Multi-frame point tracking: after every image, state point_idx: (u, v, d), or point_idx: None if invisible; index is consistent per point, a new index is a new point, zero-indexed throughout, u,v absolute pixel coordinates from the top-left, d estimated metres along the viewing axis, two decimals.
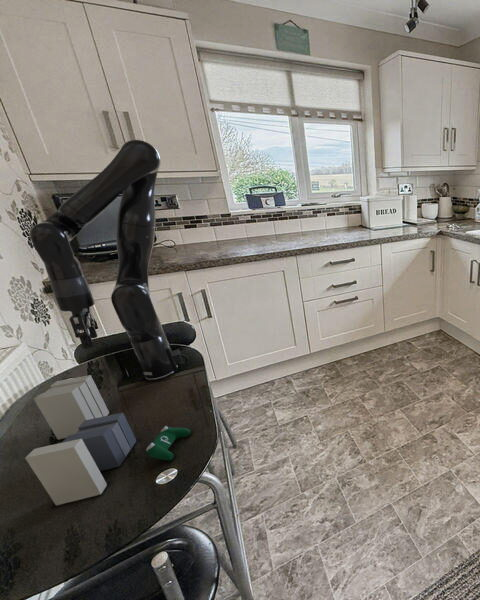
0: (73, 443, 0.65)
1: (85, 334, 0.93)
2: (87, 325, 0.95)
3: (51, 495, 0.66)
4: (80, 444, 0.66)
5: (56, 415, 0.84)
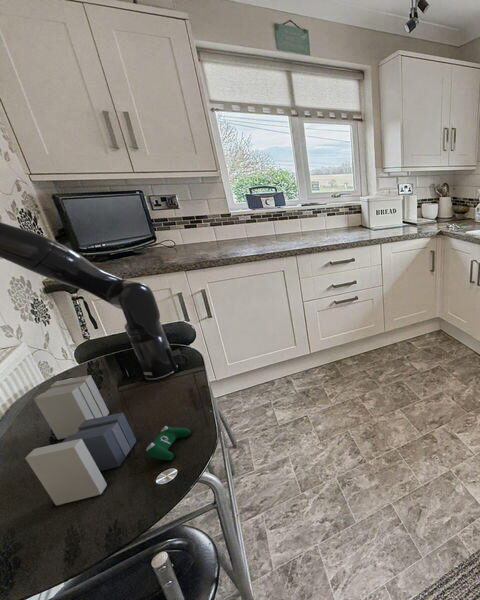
0: (73, 443, 0.65)
1: None
2: None
3: (51, 495, 0.66)
4: (80, 444, 0.66)
5: (56, 415, 0.84)
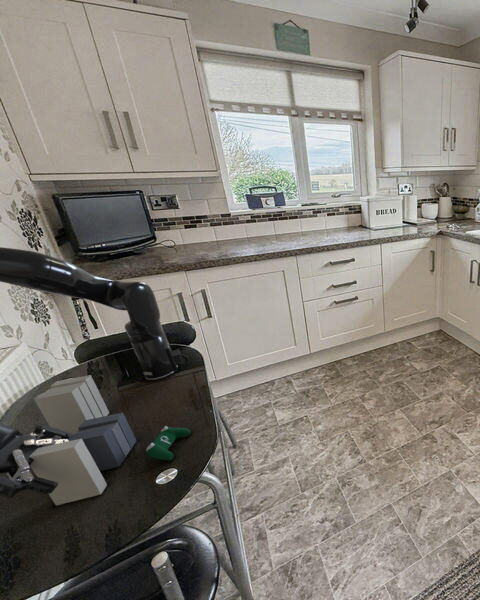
0: (73, 443, 0.65)
1: (13, 489, 0.58)
2: (19, 469, 0.60)
3: (51, 495, 0.66)
4: (80, 444, 0.66)
5: (56, 415, 0.84)
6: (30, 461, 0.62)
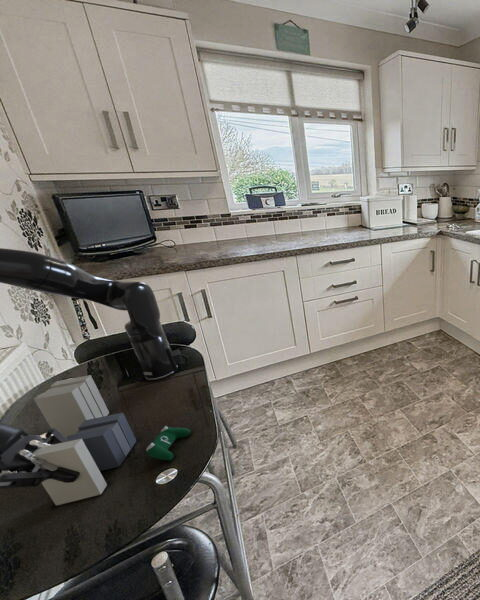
0: (73, 443, 0.65)
1: (39, 477, 0.61)
2: (37, 464, 0.62)
3: (51, 495, 0.66)
4: (80, 444, 0.66)
5: (56, 415, 0.84)
6: None
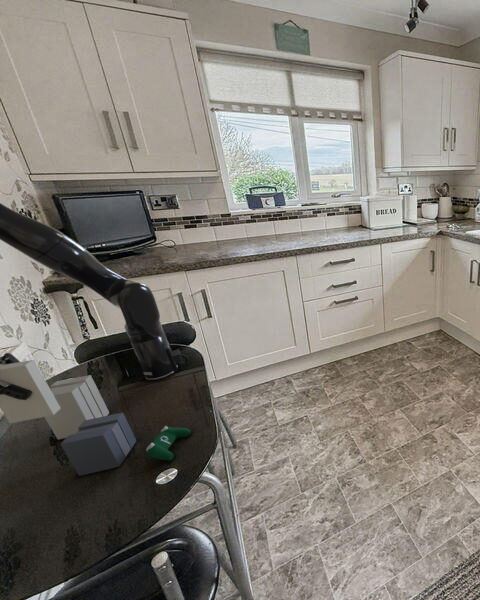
0: (25, 363, 0.69)
1: None
2: None
3: (5, 413, 0.70)
4: (32, 364, 0.70)
5: (56, 415, 0.84)
6: None
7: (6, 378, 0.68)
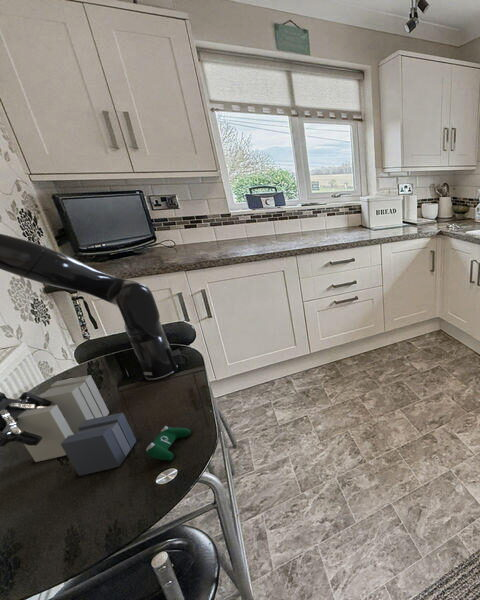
0: (49, 408, 0.77)
1: (4, 439, 0.70)
2: (7, 425, 0.72)
3: (31, 453, 0.78)
4: (55, 409, 0.77)
5: None
6: (15, 420, 0.74)
7: (32, 422, 0.76)
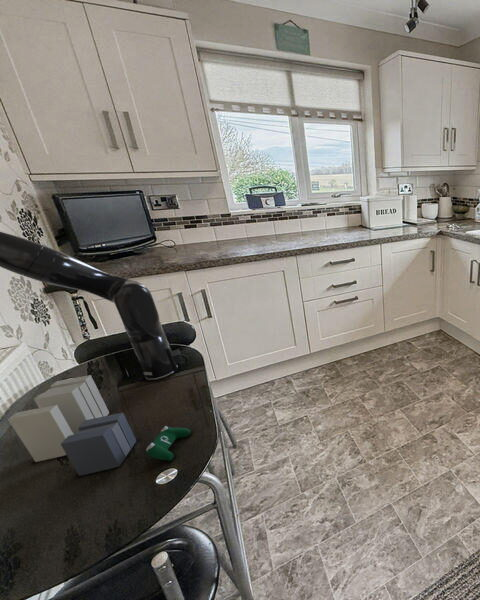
0: (49, 408, 0.77)
1: None
2: None
3: (31, 453, 0.78)
4: (55, 409, 0.77)
5: None
6: None
7: (32, 422, 0.76)
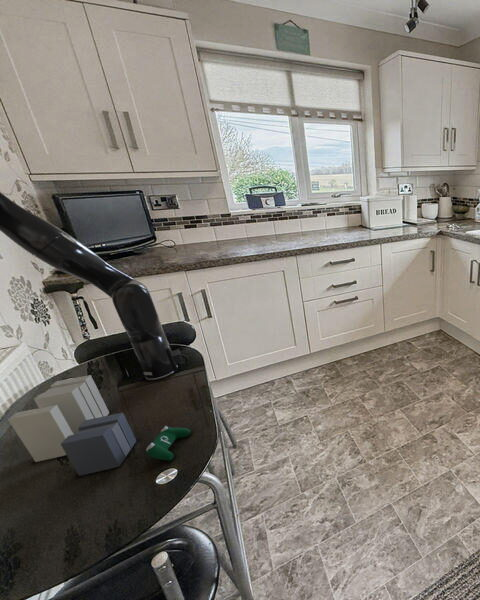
0: (49, 408, 0.77)
1: None
2: None
3: (31, 453, 0.78)
4: (55, 409, 0.77)
5: None
6: None
7: (32, 422, 0.76)
